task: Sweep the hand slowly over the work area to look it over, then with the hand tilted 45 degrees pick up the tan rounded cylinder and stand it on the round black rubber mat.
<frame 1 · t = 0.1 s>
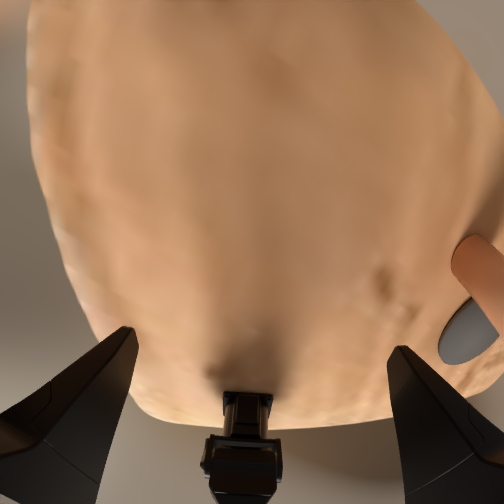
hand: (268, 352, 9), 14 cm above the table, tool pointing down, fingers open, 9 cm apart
tan rounded cylinder: (469, 257, 23), on the table
mat: (477, 327, 28), on the table
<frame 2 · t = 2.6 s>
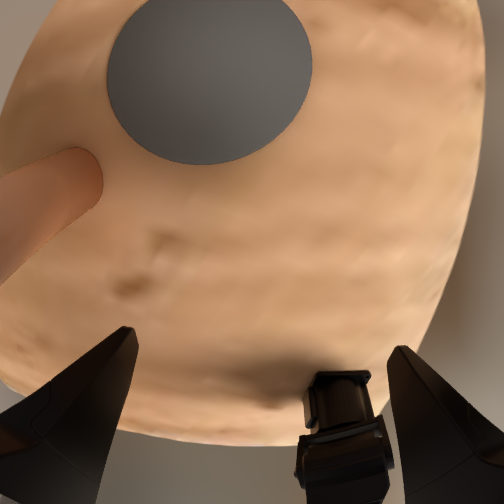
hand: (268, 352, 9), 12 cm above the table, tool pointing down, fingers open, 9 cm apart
tan rounded cylinder: (76, 180, 18), on the table
mat: (204, 65, 15), on the table
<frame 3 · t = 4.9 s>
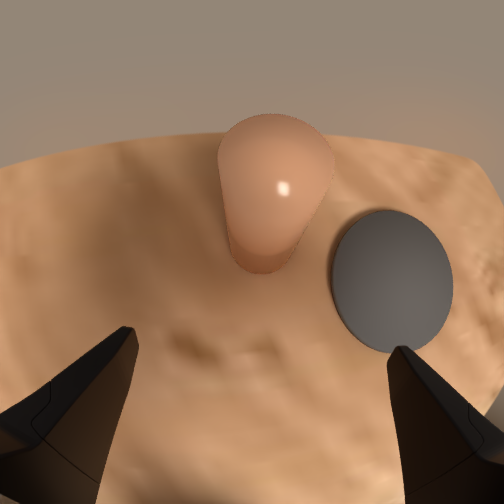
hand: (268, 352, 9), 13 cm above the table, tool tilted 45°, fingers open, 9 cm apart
tan rounded cylinder: (261, 243, 24), on the table
mat: (397, 281, 23), on the table
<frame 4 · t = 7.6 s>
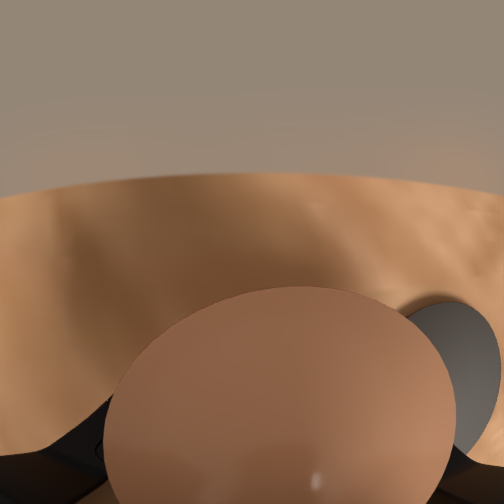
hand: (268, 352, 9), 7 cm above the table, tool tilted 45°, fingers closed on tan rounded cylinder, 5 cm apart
tan rounded cylinder: (256, 369, 15), on the table, touching gripper
mat: (438, 396, 14), on the table
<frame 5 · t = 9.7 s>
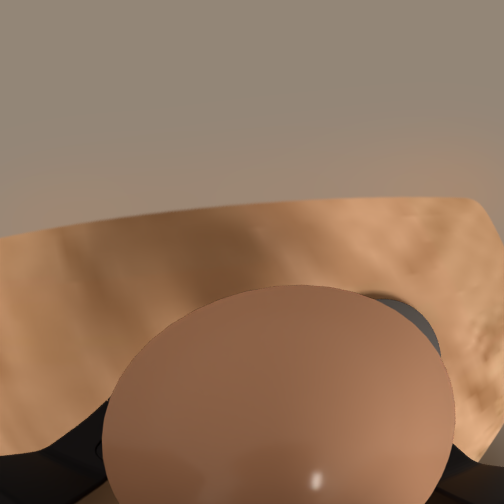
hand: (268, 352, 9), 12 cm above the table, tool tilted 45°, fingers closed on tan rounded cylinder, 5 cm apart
tan rounded cylinder: (255, 368, 15), point 6 cm above the table, touching gripper
mat: (376, 377, 20), on the table
when the fingers open (8 cm above the table, at t = 12.1 s): tan rounded cylinder drops 1 cm, resting on mat.
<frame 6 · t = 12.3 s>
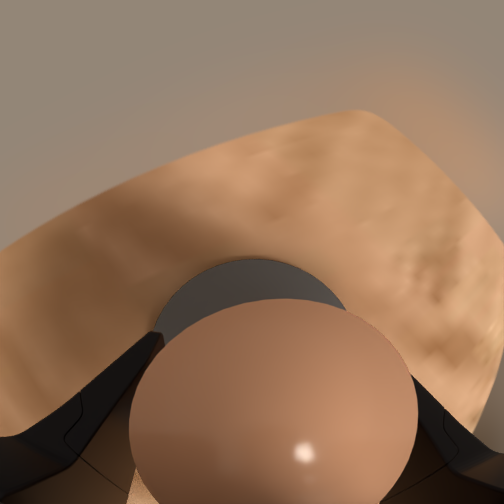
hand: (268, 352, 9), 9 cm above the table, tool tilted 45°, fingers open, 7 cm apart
tan rounded cylinder: (255, 368, 16), point 1 cm above the table, touching mat
mat: (255, 364, 17), on the table
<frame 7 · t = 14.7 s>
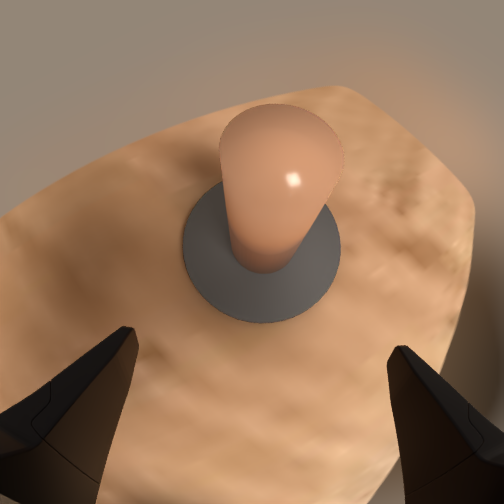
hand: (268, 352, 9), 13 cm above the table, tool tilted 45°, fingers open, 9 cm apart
tan rounded cylinder: (263, 242, 23), point 1 cm above the table, touching mat
mat: (262, 243, 24), on the table
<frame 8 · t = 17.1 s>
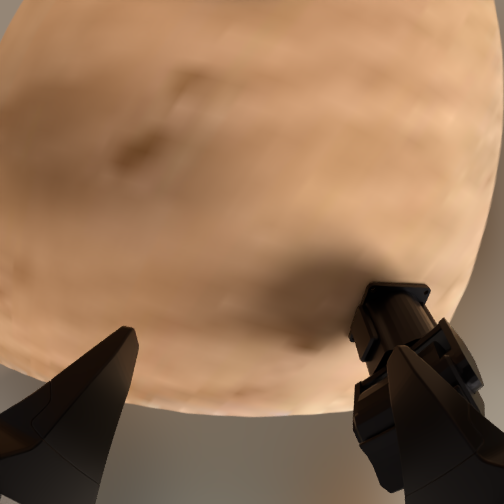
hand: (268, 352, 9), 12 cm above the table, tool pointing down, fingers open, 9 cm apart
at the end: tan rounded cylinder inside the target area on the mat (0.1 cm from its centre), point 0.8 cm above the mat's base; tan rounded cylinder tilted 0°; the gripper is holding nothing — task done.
